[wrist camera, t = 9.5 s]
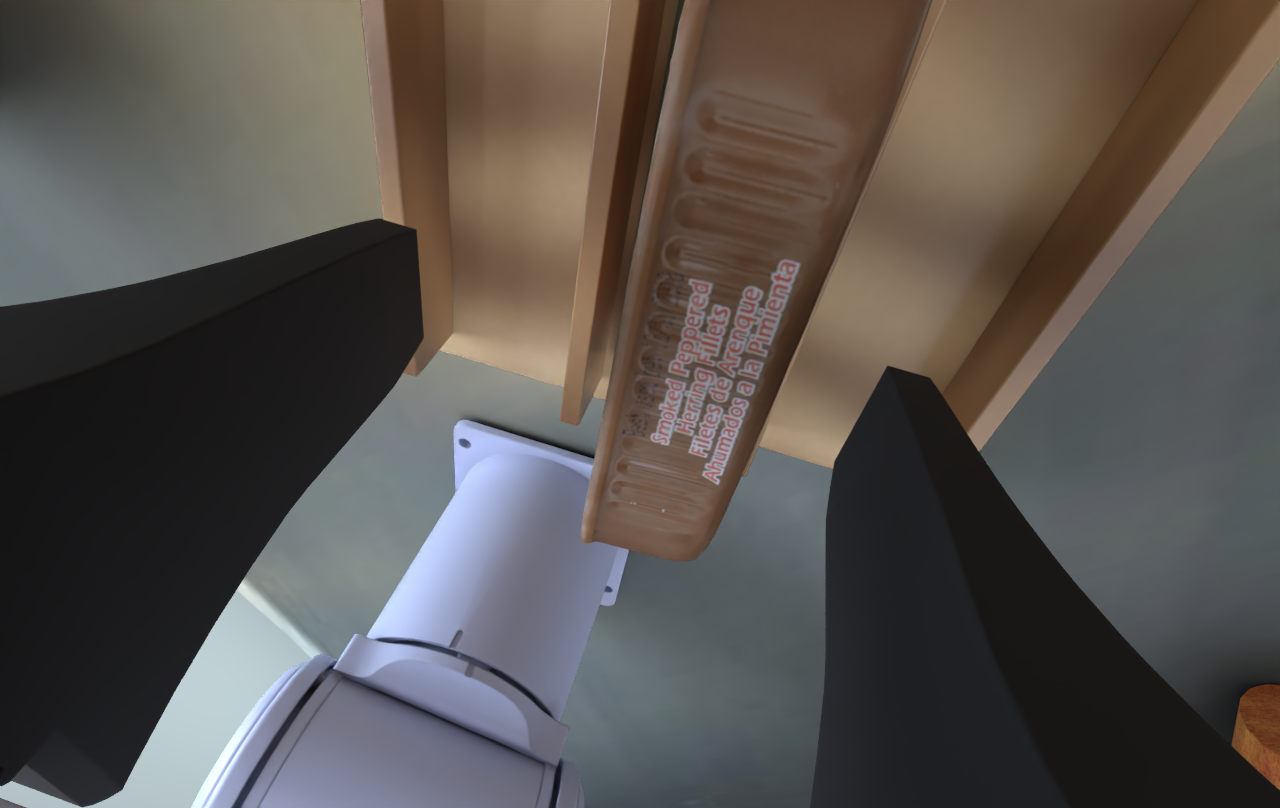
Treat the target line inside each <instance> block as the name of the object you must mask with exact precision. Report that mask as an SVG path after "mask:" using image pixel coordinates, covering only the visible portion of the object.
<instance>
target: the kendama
mask: <svg viewBox="0 0 1280 808" xmlns="http://www.w3.org/2000/svg"><path fill="white" fill-rule="evenodd" d="M1231 746H1232V747H1233V748H1234V749H1235V750H1236V751H1237V752H1239V753H1240V754H1241V755H1242V756H1243V757H1244V758H1245V759H1246V760H1247V761H1248V762H1249V763H1250V764H1251V765H1252V766H1254V767H1255V768H1256V769H1257V770H1258V771H1259V772H1260V773H1261V774H1262V775H1263V776H1264V777H1266V778H1267V779H1268V780H1269V781H1270V782H1271V783H1272V784H1273V785H1275V786H1276V787H1277V788H1278V789H1279V790H1280V685H1273V684H1265V685H1261V686H1257V687H1253V688H1250V689H1249V690H1248V691H1247V692H1246V693H1245V694H1244V695H1243V696H1242V697H1241V698H1240V702H1239V708H1238V713H1237V718H1236V723H1235V728H1234V733H1233V738H1232V744H1231Z"/></svg>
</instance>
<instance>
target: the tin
mask: <svg viewBox="0 0 1280 808" xmlns="http://www.w3.org/2000/svg"><path fill="white" fill-rule="evenodd" d="M931 3H932V0H685V2H684V6H683V10H682V14H681V17H680V21H679V24H678V31H677V37H676V41H675V46H674V51H673V55H672V58H671V61H670V73H669V77H668V82H667V86H666V91H665V95H664V100H663V105H662V110H661V114H660V119H659V124H658V129H657V133H656V138H655V144H654V150H653V156H652V162H651V167H650V172H649V177H648V182H647V186H646V191H645V196H644V202H643V207H642V212H641V217H640V222H639V228H638V235H637V240H636V245H635V249H634V253H633V258H632V263H631V269H630V274H629V279H628V285H627V290H626V294H625V301H624V307H623V313H622V317H621V321H620V330H619V333H618V339H617V344H616V349H615V354H614V358H613V363H612V368H611V374H610V379H609V385H608V390H607V395H606V401H605V406H604V411H603V416H602V421H601V425H600V430H599V435H598V441H597V447H596V452H595V458H594V463H593V467H592V471H591V477H590V482H589V486H588V492H587V497H586V502H585V507H584V512H583V518H582V526H581V537H580V538H581V541H582V542H583V543H587V544H589V543H592V542H601V543H605V544H608V545H612V546H616V547H620V548H624V549H628V550H631V551H635V552H639V553H643V554H647V555H651V556H655V557H659V558H663V559H667V560H673V561H682V562H686V561H691V560H694V559H696V558H697V557H698V556H700V555H701V554H702V553H703V551H704V550H705V549H706V548H707V546H708V545H709V543H710V541H711V540H712V538H713V537H714V535H715V533H716V531H717V529H718V527H719V525H720V523H721V521H722V518H723V516H724V514H725V512H726V510H727V507H728V505H729V503H730V500H731V498H732V496H733V494H734V491H735V489H736V487H737V485H738V483H739V480H740V478H741V476H742V473H743V471H744V469H745V467H746V465H747V462H748V460H749V458H750V456H751V454H752V451H753V449H754V447H755V444H756V442H757V439H758V436H759V434H760V432H761V430H762V428H763V426H764V424H765V421H766V419H767V417H768V414H769V412H770V410H771V407H772V405H773V403H774V400H775V398H776V396H777V393H778V391H779V389H780V386H781V384H782V382H783V379H784V377H785V374H786V372H787V369H788V367H789V364H790V362H791V360H792V357H793V355H794V353H795V351H796V349H797V346H798V344H799V342H800V340H801V337H802V335H803V333H804V330H805V328H806V325H807V323H808V321H809V318H810V316H811V313H812V311H813V308H814V306H815V303H816V301H817V298H818V296H819V293H820V291H821V288H822V286H823V283H824V281H825V279H826V277H827V274H828V272H829V270H830V268H831V266H832V264H833V262H834V259H835V256H836V254H837V251H838V248H839V246H840V243H841V241H842V238H843V236H844V234H845V231H846V229H847V226H848V224H849V222H850V219H851V217H852V214H853V212H854V210H855V207H856V205H857V202H858V200H859V197H860V195H861V192H862V190H863V187H864V185H865V183H866V180H867V178H868V176H869V173H870V171H871V168H872V166H873V164H874V161H875V159H876V157H877V154H878V152H879V149H880V147H881V144H882V142H883V139H884V136H885V134H886V131H887V128H888V125H889V123H890V120H891V117H892V115H893V112H894V109H895V107H896V104H897V101H898V99H899V96H900V93H901V91H902V88H903V85H904V82H905V79H906V77H907V74H908V71H909V68H910V65H911V62H912V60H913V57H914V54H915V51H916V48H917V45H918V43H919V40H920V37H921V33H922V30H923V27H924V24H925V21H926V18H927V15H928V12H929V9H930V6H931Z"/></svg>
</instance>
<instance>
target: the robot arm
mask: <svg viewBox="0 0 1280 808" xmlns="http://www.w3.org/2000/svg"><path fill="white" fill-rule="evenodd" d="M423 339H424V329H423V314H422V299H421V285H420V270H419V256H418V241H417V229H414V228H410V227H407V226H403V225H400V224H396V223H393V222H390V221H386V220H383V219H374V220H369V221H364V222H359V223H355V224H351V225H348V226H344V227H340V228H337V229H333V230H329V231H326V232H323V233H319V234H316V235H312V236H309V237H306V238H302V239H299V240H296V241H292V242H289V243H285V244H282V245H279V246H275V247H272V248H269V249H265V250H262V251H258V252H255V253H252V254H248V255H245V256H241V257H238V258H234V259H231V260H227V261H223V262H219V263H215V264H211V265H208V266H204V267H200V268H196V269H192V270H188V271H185V272H181V273H177V274H173V275H169V276H166V277H162V278H158V279H154V280H149V281H145V282H140V283H136V284H131V285H127V286H122V287H117V288H112V289H107V290H102V291H97V292H91V293H86V294H80V295H75V296H70V297H64V298H59V299H53V300H47V301H41V302H34V303H26V304H19V305H11V306H4V307H0V786H3V785H5V784H7V783H9V782H10V781H13V782H16V783H19V784H21V785H24V786H27V787H29V788H32V789H35V790H37V791H40V792H43V793H46V794H48V795H51V796H54V797H56V798H59V799H62V800H64V801H67V802H70V803H72V804H75V805H78V806H81V807H85V806H90V805H93V804H96V803H98V802H100V801H103V800H105V799H108V798H109V797H111V796H113V795H114V794H116V793H118V792H119V791H121V790H122V789H123V787H124V785H125V783H126V781H127V779H128V777H129V775H130V774H131V772H132V770H133V768H134V766H135V764H136V762H137V760H138V758H139V756H140V754H141V752H142V751H143V749H144V747H145V745H146V743H147V742H148V740H149V738H150V736H151V734H152V732H153V730H154V729H155V727H156V725H157V723H158V721H159V719H160V718H161V716H162V714H163V712H164V710H165V708H166V707H167V705H168V703H169V701H170V699H171V697H172V696H173V694H174V692H175V690H176V688H177V687H178V685H179V683H180V682H181V679H182V678H183V677H184V675H185V673H186V671H187V670H188V668H189V666H190V665H191V663H192V661H193V659H194V658H195V656H196V655H197V653H198V651H199V649H200V648H201V646H202V644H203V643H204V641H205V639H206V638H207V636H208V634H209V633H210V631H211V629H212V628H213V626H214V624H215V622H216V621H217V619H218V618H219V616H220V615H221V613H222V612H223V610H224V608H225V606H226V605H227V604H228V602H229V601H230V599H231V598H232V596H233V594H234V593H235V591H236V590H237V588H238V587H239V585H240V583H241V582H242V580H243V579H244V577H245V576H246V574H247V572H248V571H249V569H250V568H251V566H252V565H253V563H254V562H255V560H256V559H257V557H258V556H259V554H260V553H261V552H262V550H263V549H264V547H265V546H266V544H267V543H268V541H269V540H270V538H271V537H272V535H273V534H274V533H275V531H276V530H277V528H278V527H279V525H280V524H281V522H282V521H283V519H284V518H285V516H286V515H287V514H288V512H289V511H290V510H291V508H292V507H293V506H294V505H295V503H296V502H297V501H298V499H299V498H300V497H301V496H302V494H303V493H304V492H305V490H306V489H307V488H308V487H309V486H310V485H311V483H312V482H313V481H314V480H315V479H316V478H317V476H318V475H319V474H320V473H321V472H322V471H323V469H324V468H325V467H326V466H327V465H328V464H329V462H330V461H331V460H332V459H333V458H334V457H335V455H336V454H337V453H338V452H339V451H340V450H341V448H342V447H343V446H344V445H345V444H346V443H347V442H348V440H349V439H350V438H351V437H352V436H353V435H354V433H355V432H356V431H357V430H358V429H359V428H360V426H361V425H362V424H363V423H364V422H365V421H366V419H367V418H368V417H369V416H370V415H371V413H372V412H373V411H374V410H375V409H376V408H377V406H378V405H379V404H380V403H381V402H382V400H383V399H384V398H385V397H386V396H387V394H388V393H389V392H390V391H391V389H392V388H393V387H394V386H395V384H396V383H397V381H398V379H399V378H400V376H401V375H402V373H403V372H404V370H405V369H406V367H407V366H408V364H409V362H410V361H411V359H412V357H413V356H414V354H415V352H416V351H417V349H418V347H419V345H420V344H421V342H422V340H423ZM454 456H455V483H456V493H455V495H454V497H453V498H452V500H451V501H450V503H449V505H448V506H447V508H446V509H445V511H444V513H443V514H442V516H441V517H440V519H439V521H438V522H437V524H436V525H435V527H434V529H433V530H432V532H431V534H430V535H429V537H428V538H427V540H426V542H425V543H424V545H423V546H422V548H421V550H420V551H419V553H418V554H417V556H416V558H415V559H414V561H413V562H412V564H411V566H410V567H409V569H408V571H407V572H406V574H405V575H404V577H403V579H402V580H401V582H400V583H399V585H398V587H397V588H396V590H395V591H394V593H393V595H392V596H391V598H390V599H389V601H388V603H387V604H386V606H385V607H384V609H383V611H382V612H381V614H380V616H379V617H378V619H377V620H376V622H375V624H374V625H373V627H372V628H371V630H370V632H369V633H368V635H367V636H363V635H360V634H355V635H354V636H353V638H352V639H351V641H350V643H349V644H348V646H347V647H346V649H345V650H344V652H343V654H342V655H341V657H340V658H339V660H337V659H334V658H332V657H330V656H328V655H325V654H320V655H317V656H314V657H313V658H311V659H310V660H308V661H306V662H303V663H301V664H298V665H296V666H293V667H292V668H290V669H289V670H287V671H286V672H285V673H284V674H283V675H281V676H280V677H279V678H278V679H277V680H276V682H275V683H274V684H273V685H272V686H271V687H270V688H269V689H268V690H267V692H266V693H265V694H264V695H263V696H262V698H261V699H260V700H259V701H258V703H257V704H256V705H255V706H254V708H253V709H252V710H251V712H250V713H249V714H248V716H247V717H246V719H245V720H244V721H243V723H242V724H241V726H240V727H239V729H238V730H237V731H236V733H235V734H234V736H233V737H232V739H231V740H230V742H229V743H228V745H227V746H226V748H225V749H224V751H223V752H222V754H221V756H220V758H219V759H218V761H217V762H216V764H215V765H214V767H213V769H212V770H211V772H210V774H209V776H208V777H207V779H206V781H205V783H204V784H203V786H202V788H201V789H200V792H199V793H198V795H197V797H196V799H195V801H194V803H193V805H192V807H191V808H584V793H583V790H582V787H581V784H580V781H579V774H578V770H577V767H576V765H575V764H574V763H573V762H571V761H568V760H566V759H564V758H562V757H561V755H562V752H563V749H564V746H565V742H566V739H567V736H568V733H569V730H570V728H569V727H568V726H567V725H565V724H563V723H561V722H560V720H561V717H562V714H563V711H564V708H565V705H566V702H567V699H568V696H569V693H570V690H571V687H572V685H573V682H574V679H575V676H576V673H577V670H578V667H579V664H580V661H581V658H582V655H583V652H584V649H585V646H586V643H587V640H588V637H589V635H590V632H591V629H592V626H593V623H594V620H595V617H596V614H597V611H598V608H599V605H600V604H601V605H605V606H611V605H613V604H614V603H615V600H616V597H617V593H618V589H619V586H620V582H621V578H622V575H623V571H624V567H625V563H626V560H627V556H628V552H629V550H628V549H624V548H620V547H616V546H612V545H608V544H605V543H601V542H592V543H589V544H587V543H583V542H582V541H581V538H580V537H581V526H582V518H583V512H584V507H585V502H586V497H587V492H588V486H589V482H590V477H591V471H592V467H593V463H594V459H593V458H589V457H586V456H583V455H580V454H576V453H573V452H570V451H567V450H563V449H560V448H557V447H554V446H550V445H547V444H544V443H541V442H537V441H534V440H531V439H528V438H525V437H521V436H518V435H515V434H512V433H508V432H505V431H502V430H499V429H495V428H492V427H489V426H486V425H482V424H479V423H476V422H473V421H469V420H460V421H459V422H458V423H457V424H456V426H455V427H454ZM0 808H26V807H23V806H20V805H18V804H15V803H12V802H10V801H7V800H4V799H1V798H0ZM810 808H1280V790H1279V789H1278V788H1277V787H1276V786H1275V785H1273V784H1272V783H1271V782H1270V781H1269V780H1268V779H1267V778H1266V777H1264V776H1263V775H1262V774H1261V773H1260V772H1259V771H1258V770H1257V769H1256V768H1255V767H1254V766H1252V765H1251V764H1250V763H1249V762H1248V761H1247V760H1246V759H1245V758H1244V757H1243V756H1242V755H1241V754H1240V753H1239V752H1237V751H1236V750H1235V749H1234V748H1233V747H1232V746H1231V745H1230V744H1229V743H1228V742H1227V741H1226V740H1225V739H1224V738H1222V737H1221V736H1220V735H1219V734H1218V733H1217V732H1216V731H1215V730H1214V729H1213V728H1212V727H1211V726H1210V725H1209V724H1208V723H1207V722H1206V721H1205V720H1204V719H1203V718H1202V717H1201V716H1200V715H1199V714H1198V713H1197V712H1196V711H1195V710H1194V709H1193V708H1192V707H1191V706H1190V705H1189V704H1188V703H1187V702H1186V701H1185V700H1184V699H1183V698H1182V697H1181V696H1180V695H1179V694H1178V693H1177V692H1176V691H1175V690H1174V689H1173V688H1172V687H1171V686H1170V685H1169V684H1168V683H1167V682H1166V681H1165V680H1164V679H1163V678H1162V677H1161V676H1160V675H1159V674H1158V673H1157V672H1156V671H1155V670H1154V669H1153V668H1152V667H1151V666H1150V665H1149V664H1148V663H1147V662H1146V661H1145V660H1144V659H1143V658H1142V657H1141V656H1140V655H1139V654H1138V653H1137V652H1136V650H1135V649H1134V648H1133V647H1132V646H1131V645H1130V644H1129V643H1128V642H1127V641H1126V640H1125V639H1124V638H1123V637H1122V636H1121V634H1120V633H1119V632H1118V631H1117V630H1116V629H1115V628H1114V626H1113V625H1112V624H1111V623H1110V622H1109V621H1108V620H1107V618H1106V617H1105V616H1104V615H1103V614H1102V613H1101V612H1100V611H1099V609H1098V608H1097V607H1096V606H1095V605H1094V604H1093V603H1092V601H1091V600H1090V599H1089V598H1088V597H1087V596H1086V595H1085V594H1084V592H1083V591H1082V590H1081V589H1080V588H1079V587H1078V585H1077V584H1076V583H1075V582H1074V581H1073V579H1072V578H1071V577H1070V576H1069V575H1068V573H1067V572H1066V571H1065V570H1064V568H1063V567H1062V566H1061V565H1060V564H1059V562H1058V561H1057V560H1056V559H1055V557H1054V556H1053V555H1052V553H1051V552H1050V551H1049V549H1048V548H1047V547H1046V545H1045V544H1044V543H1043V542H1042V540H1041V539H1040V538H1039V536H1038V535H1037V534H1036V532H1035V531H1034V530H1033V528H1032V527H1031V526H1030V524H1029V523H1028V522H1027V521H1026V519H1025V518H1024V516H1023V515H1022V514H1021V512H1020V511H1019V510H1018V508H1017V507H1016V505H1015V504H1014V503H1013V501H1012V500H1011V498H1010V497H1009V496H1008V494H1007V493H1006V491H1005V490H1004V488H1003V487H1002V485H1001V484H1000V483H999V481H998V480H997V478H996V477H995V475H994V474H993V472H992V471H991V469H990V468H989V466H988V465H987V463H986V462H985V460H984V459H983V457H982V456H981V454H980V453H979V451H978V450H977V448H976V447H975V445H974V444H973V442H972V440H971V439H970V437H969V436H968V434H967V433H966V431H965V430H964V428H963V426H962V425H961V423H960V422H959V420H958V419H957V417H956V416H955V414H954V412H953V411H952V409H951V408H950V406H949V405H948V403H947V402H946V400H945V399H944V397H943V396H942V394H941V393H940V391H939V390H938V388H937V387H936V385H935V384H934V383H933V381H932V380H931V378H929V377H926V376H922V375H919V374H915V373H912V372H909V371H905V370H902V369H898V368H895V367H891V366H888V365H887V367H886V369H885V371H884V373H883V374H882V376H881V378H880V380H879V382H878V383H877V385H876V387H875V389H874V391H873V392H872V394H871V396H870V398H869V400H868V402H867V403H866V405H865V407H864V409H863V411H862V412H861V414H860V416H859V418H858V420H857V421H856V423H855V425H854V427H853V429H852V430H851V432H850V434H849V436H848V438H847V439H846V441H845V443H844V445H843V447H842V448H841V450H840V452H839V454H838V456H837V458H836V459H835V461H834V467H833V473H832V480H831V487H830V493H829V501H828V508H827V516H826V660H825V683H824V695H823V704H822V714H821V723H820V732H819V742H818V751H817V759H816V767H815V775H814V783H813V791H812V799H811V807H810Z"/></svg>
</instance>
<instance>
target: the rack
mask: <svg viewBox="0 0 1280 808" xmlns="http://www.w3.org/2000/svg"><path fill="white" fill-rule="evenodd" d="M684 2H685V0H360V5H361V14H362V23H363V32H364V42H365V51H366V60H367V70H368V79H369V88H370V98H371V107H372V116H373V125H374V135H375V144H376V153H377V163H378V172H379V181H380V191H381V200H382V209H383V219H384V220H386V221H390V222H393V223H396V224H400V225H403V226H407V227H410V228H414V229H417V241H418V256H419V270H420V285H421V299H422V314H423V329H424V339H423V340H422V342H421V344H420V345H419V347H418V349H417V351H416V352H415V354H414V356H413V357H412V359H411V361H410V362H409V364H408V366H407V367H406V369H405V370H404V372H403V373H406V374H409V375H412V376H418V375H419V374H420V373H421V371H422V370H423V369H424V368H425V367H426V365H427V364H428V363H429V362H430V360H431V359H432V358H433V357H434V356H435V354H436V353H437V352H438V351H439V350H440V351H443V352H447V353H450V354H453V355H456V356H460V357H463V358H466V359H470V360H473V361H476V362H480V363H483V364H486V365H490V366H493V367H496V368H500V369H503V370H506V371H510V372H513V373H516V374H520V375H523V376H526V377H529V378H533V379H536V380H539V381H543V382H546V383H549V384H553V385H556V386H559V387H563V388H564V390H563V398H562V407H561V415H560V421H562V422H565V423H568V424H572V425H575V426H578V425H579V424H580V421H581V419H582V417H583V415H584V413H585V411H586V409H587V407H588V405H589V403H590V401H591V399H592V397H596V398H599V399H602V400H606V395H607V390H608V385H609V379H610V374H611V368H612V363H613V358H614V354H615V349H616V344H617V339H618V333H619V330H620V321H621V317H622V313H623V307H624V301H625V294H626V290H627V285H628V279H629V274H630V269H631V263H632V258H633V253H634V249H635V245H636V240H637V235H638V228H639V222H640V217H641V212H642V207H643V202H644V196H645V191H646V186H647V182H648V177H649V172H650V167H651V162H652V156H653V150H654V144H655V138H656V133H657V129H658V124H659V119H660V114H661V110H662V105H663V100H664V95H665V91H666V86H667V82H668V77H669V73H670V61H671V58H672V55H673V51H674V46H675V41H676V37H677V31H678V24H679V21H680V17H681V14H682V10H683V6H684ZM1279 59H1280V0H932V3H931V6H930V9H929V12H928V15H927V18H926V21H925V24H924V27H923V30H922V33H921V37H920V40H919V43H918V45H917V48H916V51H915V54H914V57H913V60H912V62H911V65H910V68H909V71H908V74H907V77H906V79H905V82H904V85H903V88H902V91H901V93H900V96H899V99H898V101H897V104H896V107H895V109H894V112H893V115H892V117H891V120H890V123H889V125H888V128H887V131H886V134H885V136H884V139H883V142H882V144H881V147H880V149H879V152H878V154H877V157H876V159H875V161H874V164H873V166H872V168H871V171H870V173H869V176H868V178H867V180H866V183H865V185H864V187H863V190H862V192H861V195H860V197H859V200H858V202H857V205H856V207H855V210H854V212H853V214H852V217H851V219H850V222H849V224H848V226H847V229H846V231H845V234H844V236H843V238H842V241H841V243H840V246H839V248H838V251H837V254H836V256H835V259H834V262H833V264H832V266H831V268H830V270H829V272H828V274H827V277H826V279H825V281H824V283H823V286H822V288H821V291H820V293H819V296H818V298H817V301H816V303H815V306H814V308H813V311H812V313H811V316H810V318H809V321H808V323H807V325H806V328H805V330H804V333H803V335H802V337H801V340H800V342H799V344H798V346H797V349H796V351H795V353H794V355H793V357H792V360H791V362H790V364H789V367H788V369H787V372H786V374H785V377H784V379H783V382H782V384H781V386H780V389H779V391H778V393H777V396H776V398H775V400H774V403H773V405H772V407H771V410H770V412H769V414H768V417H767V419H766V421H765V424H764V426H763V428H762V430H761V432H760V434H759V436H758V439H757V442H756V444H755V447H754V449H753V451H752V454H751V456H750V458H749V460H748V462H747V465H746V467H745V469H744V471H743V473H742V476H743V477H745V476H746V475H747V473H748V470H749V468H750V465H751V463H752V461H753V458H754V456H755V454H756V451H757V449H758V447H762V448H765V449H768V450H772V451H775V452H778V453H782V454H785V455H788V456H791V457H795V458H798V459H801V460H805V461H808V462H811V463H815V464H818V465H821V466H825V467H828V468H831V469H833V467H834V461H835V459H836V458H837V456H838V454H839V452H840V450H841V448H842V447H843V445H844V443H845V441H846V439H847V438H848V436H849V434H850V432H851V430H852V429H853V427H854V425H855V423H856V421H857V420H858V418H859V416H860V414H861V412H862V411H863V409H864V407H865V405H866V403H867V402H868V400H869V398H870V396H871V394H872V392H873V391H874V389H875V387H876V385H877V383H878V382H879V380H880V378H881V376H882V374H883V373H884V371H885V369H886V367H887V365H888V366H891V367H895V368H898V369H902V370H905V371H909V372H912V373H915V374H919V375H922V376H926V377H929V378H931V380H932V381H933V383H934V384H935V385H936V387H937V388H938V390H939V391H940V393H941V394H942V396H943V397H944V399H945V400H946V402H947V403H948V405H949V406H950V408H951V409H952V411H953V412H954V414H955V416H956V417H957V419H958V420H959V422H960V423H961V425H962V426H963V428H964V430H965V431H966V433H967V434H968V436H969V437H970V439H971V440H972V442H973V444H974V445H975V447H976V448H977V450H978V451H980V450H981V449H982V447H983V446H984V445H985V443H986V442H987V441H988V440H989V438H990V437H991V436H992V434H993V433H994V432H995V430H996V429H997V428H998V427H999V425H1000V424H1001V423H1002V421H1003V420H1004V419H1005V417H1006V416H1007V415H1008V413H1009V412H1010V411H1011V410H1012V408H1013V407H1014V406H1015V404H1016V403H1017V402H1018V400H1019V399H1020V398H1021V396H1022V395H1023V394H1024V393H1025V391H1026V390H1027V389H1028V387H1029V386H1030V385H1031V383H1032V382H1033V381H1034V379H1035V378H1036V377H1037V376H1038V374H1039V373H1040V372H1041V370H1042V369H1043V368H1044V366H1045V365H1046V364H1047V362H1048V361H1049V360H1050V359H1051V357H1052V356H1053V355H1054V353H1055V352H1056V351H1057V349H1058V348H1059V347H1060V345H1061V344H1062V343H1063V342H1064V340H1065V339H1066V338H1067V336H1068V335H1069V334H1070V332H1071V331H1072V330H1073V329H1074V327H1075V326H1076V325H1077V323H1078V322H1079V321H1080V319H1081V318H1082V317H1083V315H1084V314H1085V313H1086V312H1087V310H1088V309H1089V308H1090V306H1091V305H1092V304H1093V302H1094V301H1095V300H1096V298H1097V297H1098V296H1099V295H1100V293H1101V292H1102V291H1103V289H1104V288H1105V287H1106V285H1107V284H1108V283H1109V281H1110V280H1111V279H1112V278H1113V276H1114V275H1115V274H1116V272H1117V271H1118V270H1119V268H1120V267H1121V266H1122V264H1123V263H1124V262H1125V261H1126V259H1127V258H1128V257H1129V255H1130V254H1131V253H1132V251H1133V250H1134V249H1135V247H1136V246H1137V245H1138V244H1139V242H1140V241H1141V240H1142V238H1143V237H1144V236H1145V234H1146V233H1147V232H1148V231H1149V229H1150V228H1151V227H1152V225H1153V224H1154V223H1155V221H1156V220H1157V219H1158V217H1159V216H1160V215H1161V214H1162V212H1163V211H1164V210H1165V208H1166V207H1167V206H1168V204H1169V203H1170V202H1171V200H1172V199H1173V198H1174V197H1175V195H1176V194H1177V193H1178V191H1179V190H1180V189H1181V187H1182V186H1183V185H1184V183H1185V182H1186V181H1187V180H1188V178H1189V177H1190V176H1191V174H1192V173H1193V172H1194V170H1195V169H1196V168H1197V166H1198V165H1199V164H1200V163H1201V161H1202V160H1203V159H1204V157H1205V156H1206V155H1207V153H1208V152H1209V151H1210V149H1211V148H1212V147H1213V146H1214V144H1215V143H1216V142H1217V140H1218V139H1219V138H1220V136H1221V135H1222V134H1223V133H1224V131H1225V130H1226V129H1227V127H1228V126H1229V125H1230V123H1231V122H1232V121H1233V119H1234V118H1235V117H1236V116H1237V114H1238V113H1239V112H1240V110H1241V109H1242V108H1243V106H1244V105H1245V104H1246V102H1247V101H1248V100H1249V99H1250V97H1251V96H1252V95H1253V93H1254V92H1255V91H1256V89H1257V88H1258V87H1259V85H1260V84H1261V83H1262V82H1263V80H1264V79H1265V78H1266V76H1267V75H1268V74H1269V72H1270V71H1271V70H1272V68H1273V67H1274V66H1275V65H1276V63H1277V62H1278V61H1279Z"/></svg>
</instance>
